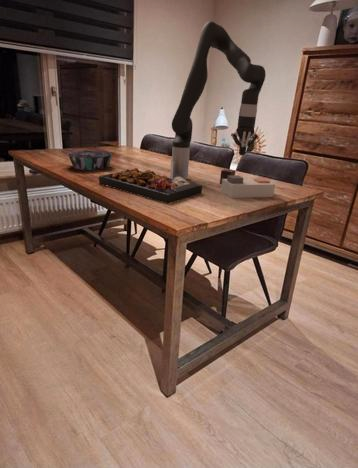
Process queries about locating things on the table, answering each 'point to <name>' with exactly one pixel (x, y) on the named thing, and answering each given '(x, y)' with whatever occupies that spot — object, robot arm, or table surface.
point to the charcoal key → (235, 179)
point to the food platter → (151, 185)
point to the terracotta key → (261, 180)
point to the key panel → (247, 189)
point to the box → (226, 174)
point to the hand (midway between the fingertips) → (241, 155)
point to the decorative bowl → (90, 159)
